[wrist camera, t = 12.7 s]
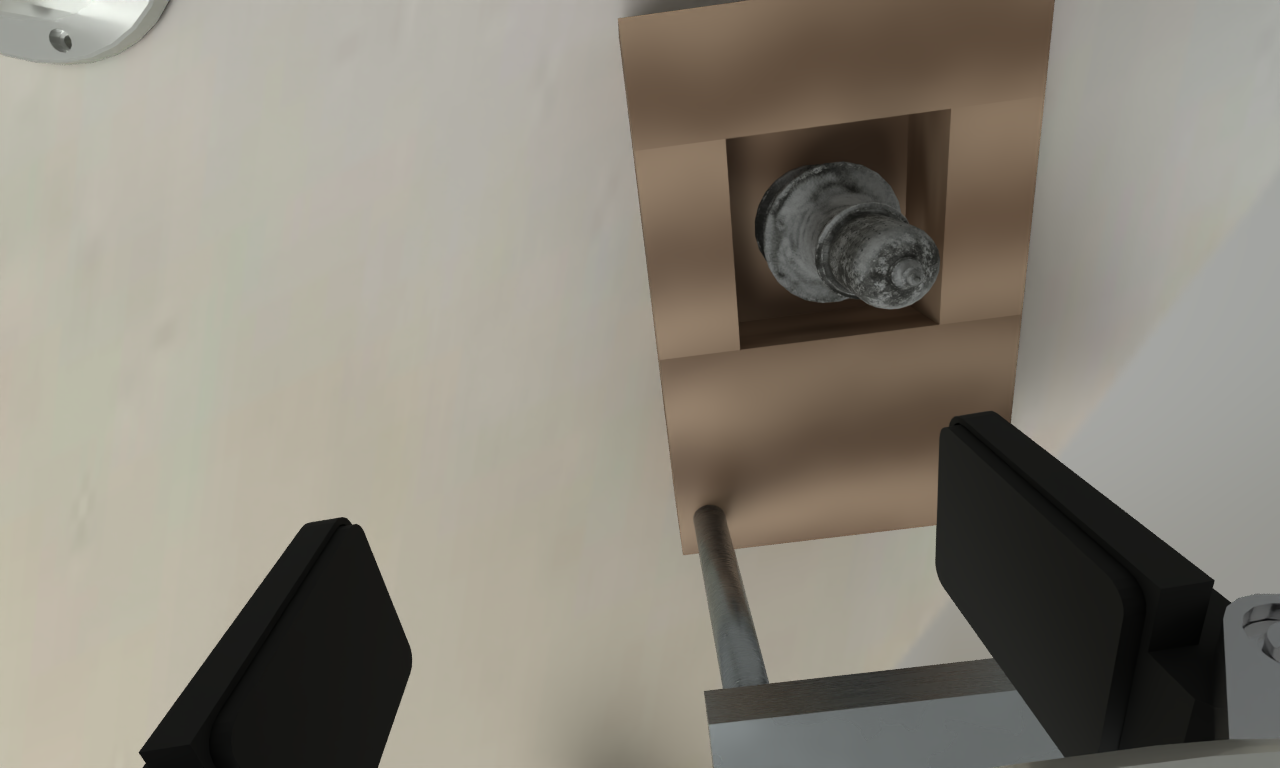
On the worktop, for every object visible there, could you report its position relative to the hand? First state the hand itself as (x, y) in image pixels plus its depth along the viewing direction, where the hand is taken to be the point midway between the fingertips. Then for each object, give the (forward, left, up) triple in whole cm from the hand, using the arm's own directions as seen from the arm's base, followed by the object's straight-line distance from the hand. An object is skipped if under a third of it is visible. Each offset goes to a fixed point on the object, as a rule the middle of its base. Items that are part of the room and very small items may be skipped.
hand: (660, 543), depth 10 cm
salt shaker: (-1, +8, -22) cm, 24 cm away
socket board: (+2, +9, -23) cm, 25 cm away
